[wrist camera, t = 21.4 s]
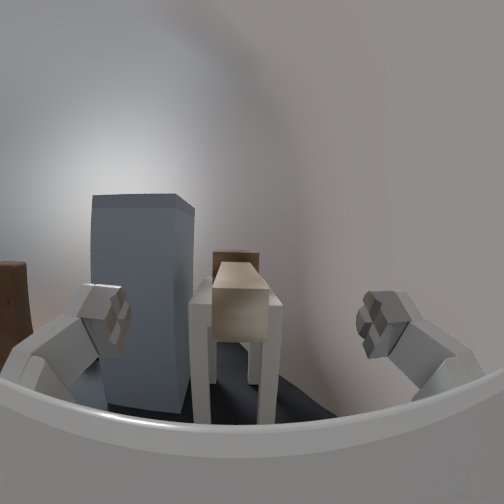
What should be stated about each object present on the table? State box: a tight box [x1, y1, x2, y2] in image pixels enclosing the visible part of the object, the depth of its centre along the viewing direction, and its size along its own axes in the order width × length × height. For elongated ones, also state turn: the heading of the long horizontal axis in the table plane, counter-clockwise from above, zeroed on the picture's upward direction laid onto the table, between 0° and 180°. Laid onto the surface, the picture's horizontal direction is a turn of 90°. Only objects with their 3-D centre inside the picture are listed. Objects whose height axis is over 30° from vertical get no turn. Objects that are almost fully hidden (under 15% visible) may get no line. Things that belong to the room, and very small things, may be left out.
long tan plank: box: [212, 250, 270, 342], centre depth 25 cm, size 5×21×4 cm, turn 4°
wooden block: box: [0, 261, 33, 373], centre depth 24 cm, size 9×4×18 cm, turn 19°
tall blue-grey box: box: [91, 194, 195, 414], centre depth 37 cm, size 10×16×26 cm, turn 4°
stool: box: [188, 277, 283, 425], centre depth 32 cm, size 8×16×16 cm, turn 4°
